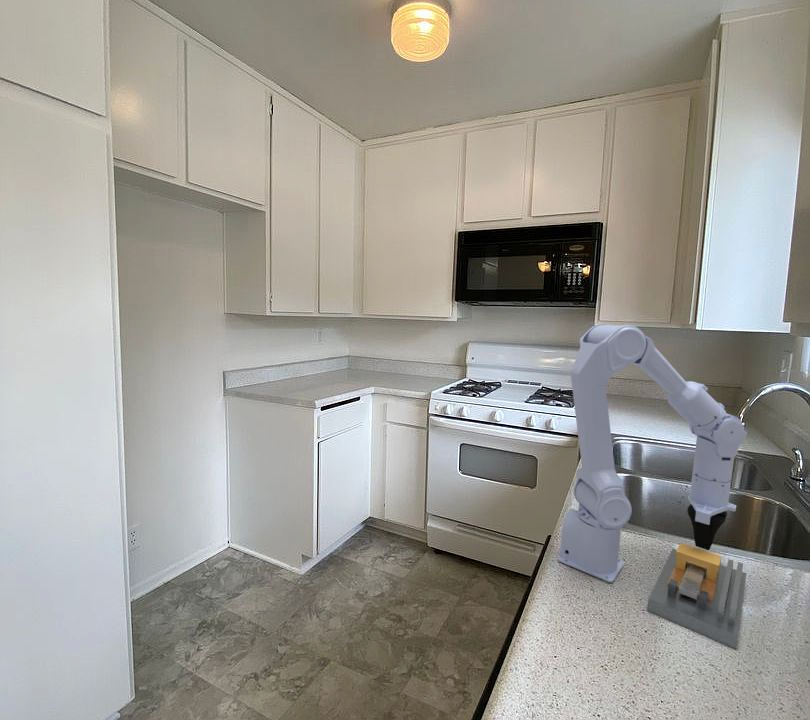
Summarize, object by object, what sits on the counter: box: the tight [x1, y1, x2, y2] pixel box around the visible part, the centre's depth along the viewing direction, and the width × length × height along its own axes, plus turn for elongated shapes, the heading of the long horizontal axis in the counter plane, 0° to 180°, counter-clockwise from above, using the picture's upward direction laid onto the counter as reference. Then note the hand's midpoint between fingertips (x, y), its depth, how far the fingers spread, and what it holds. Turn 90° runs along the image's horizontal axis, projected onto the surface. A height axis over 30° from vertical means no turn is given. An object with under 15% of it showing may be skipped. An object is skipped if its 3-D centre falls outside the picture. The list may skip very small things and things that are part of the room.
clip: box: [675, 542, 722, 582], centre depth 73 cm, size 6×4×3 cm, turn 48°
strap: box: [678, 563, 706, 600], centre depth 70 cm, size 2×11×1 cm, turn 138°
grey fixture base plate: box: [647, 548, 747, 650], centre depth 70 cm, size 11×20×4 cm, turn 138°
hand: (702, 546), depth 78 cm, fingers closed
